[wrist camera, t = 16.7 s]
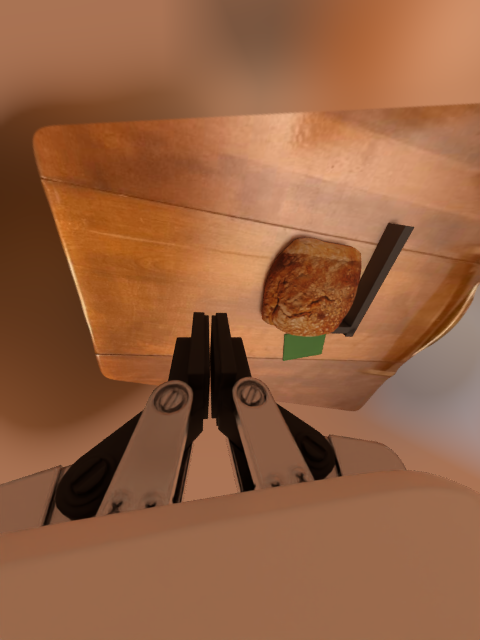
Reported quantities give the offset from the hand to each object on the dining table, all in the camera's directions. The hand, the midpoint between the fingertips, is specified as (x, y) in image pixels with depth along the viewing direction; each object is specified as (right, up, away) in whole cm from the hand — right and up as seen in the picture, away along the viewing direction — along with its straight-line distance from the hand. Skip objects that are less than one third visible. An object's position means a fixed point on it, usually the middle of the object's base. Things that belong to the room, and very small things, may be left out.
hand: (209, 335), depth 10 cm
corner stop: (+23, +10, +33) cm, 42 cm away
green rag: (+20, -6, +43) cm, 48 cm away
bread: (+17, +10, +32) cm, 38 cm away
